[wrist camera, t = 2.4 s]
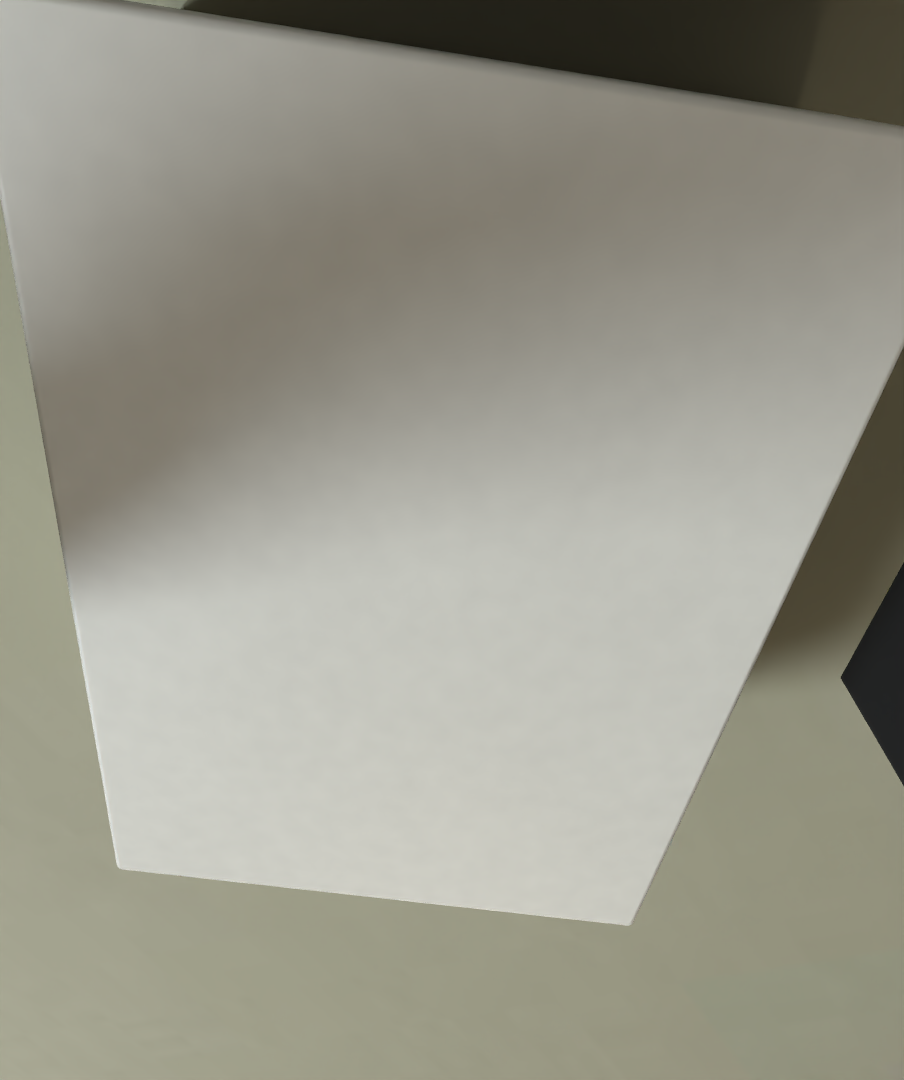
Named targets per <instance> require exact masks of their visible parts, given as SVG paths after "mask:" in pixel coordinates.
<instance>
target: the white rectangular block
mask: <svg viewBox="0 0 904 1080" xmlns="http://www.w3.org/2000/svg"><path fill="white" fill-rule="evenodd" d="M0 197H1V202H2V208H3V214H4V220H5V225H6V231H7V237H8V243H9V248H10V254H11V260H12V266H13V271H14V277H15V283H16V288H17V294H18V300H19V306H20V311H21V317H22V323H23V329H24V334H25V340H26V346H27V352H28V357H29V363H30V369H31V374H32V380H33V386H34V392H35V397H36V403H37V409H38V415H39V420H40V426H41V432H42V438H43V443H44V449H45V455H46V460H47V466H48V472H49V478H50V483H51V489H52V495H53V501H54V506H55V512H56V518H57V524H58V529H59V535H60V541H61V546H62V552H63V558H64V564H65V569H66V575H67V581H68V587H69V592H70V598H71V604H72V610H73V615H74V621H75V627H76V632H77V638H78V644H79V650H80V655H81V661H82V667H83V673H84V678H85V684H86V690H87V696H88V701H89V707H90V713H91V718H92V724H93V730H94V736H95V741H96V747H97V753H98V759H99V764H100V770H101V776H102V782H103V787H104V793H105V799H106V804H107V810H108V816H109V822H110V827H111V833H112V839H113V845H114V850H115V856H116V862H117V866H118V867H119V868H120V869H124V870H133V871H142V872H151V873H160V874H169V875H178V876H187V877H196V878H205V879H214V880H223V881H232V882H241V883H250V884H259V885H268V886H277V887H286V888H295V889H304V890H313V891H322V892H331V893H340V894H349V895H358V896H367V897H376V898H385V899H394V900H403V901H412V902H421V903H430V904H439V905H448V906H457V907H466V908H475V909H484V910H493V911H502V912H511V913H520V914H529V915H538V916H547V917H556V918H565V919H574V920H583V921H592V922H601V923H610V924H619V925H631V924H633V922H634V920H635V918H636V915H637V913H638V911H639V909H640V907H641V905H642V903H643V901H644V898H645V896H646V894H647V892H648V890H649V888H650V886H651V883H652V881H653V879H654V877H655V875H656V873H657V871H658V869H659V866H660V864H661V862H662V860H663V858H664V856H665V854H666V852H667V849H668V847H669V845H670V843H671V841H672V839H673V837H674V835H675V832H676V830H677V828H678V826H679V824H680V822H681V820H682V817H683V815H684V813H685V811H686V809H687V807H688V805H689V803H690V800H691V798H692V796H693V794H694V792H695V790H696V788H697V786H698V783H699V781H700V779H701V777H702V775H703V773H704V771H705V769H706V766H707V764H708V762H709V760H710V758H711V756H712V754H713V751H714V749H715V747H716V745H717V743H718V741H719V739H720V737H721V734H722V732H723V730H724V728H725V726H726V724H727V722H728V720H729V717H730V715H731V713H732V711H733V709H734V707H735V705H736V703H737V700H738V698H739V696H740V694H741V692H742V690H743V688H744V685H745V683H746V681H747V679H748V677H749V675H750V673H751V671H752V668H753V666H754V664H755V662H756V660H757V658H758V656H759V654H760V651H761V649H762V647H763V645H764V643H765V641H766V639H767V637H768V634H769V632H770V630H771V628H772V626H773V624H774V622H775V619H776V617H777V615H778V613H779V611H780V609H781V607H782V605H783V602H784V600H785V598H786V596H787V594H788V592H789V590H790V588H791V585H792V583H793V581H794V579H795V577H796V575H797V573H798V570H799V568H800V566H801V564H802V562H803V560H804V558H805V556H806V553H807V551H808V549H809V547H810V545H811V543H812V541H813V539H814V536H815V534H816V532H817V530H818V528H819V526H820V524H821V522H822V519H823V517H824V515H825V513H826V511H827V509H828V507H829V504H830V502H831V500H832V498H833V496H834V494H835V492H836V490H837V487H838V485H839V483H840V481H841V479H842V477H843V475H844V473H845V470H846V468H847V466H848V464H849V462H850V460H851V458H852V456H853V453H854V451H855V449H856V447H857V445H858V443H859V441H860V438H861V436H862V434H863V432H864V430H865V428H866V426H867V424H868V421H869V419H870V417H871V415H872V413H873V411H874V409H875V407H876V404H877V402H878V400H879V398H880V396H881V394H882V392H883V390H884V387H885V385H886V383H887V381H888V379H889V377H890V375H891V372H892V370H893V368H894V366H895V364H896V362H897V360H898V358H899V355H900V353H901V351H902V349H903V347H904V126H899V125H893V124H887V123H882V122H876V121H870V120H864V119H858V118H852V117H846V116H840V115H834V114H829V113H823V112H817V111H811V110H805V109H799V108H793V107H787V106H781V105H774V104H768V103H762V102H756V101H750V100H743V99H737V98H731V97H725V96H718V95H712V94H706V93H700V92H693V91H687V90H681V89H675V88H669V87H662V86H656V85H650V84H644V83H637V82H631V81H625V80H619V79H613V78H606V77H600V76H594V75H588V74H581V73H575V72H569V71H563V70H557V69H550V68H544V67H538V66H532V65H525V64H519V63H513V62H507V61H501V60H494V59H488V58H482V57H476V56H469V55H463V54H457V53H451V52H445V51H438V50H432V49H426V48H420V47H413V46H407V45H401V44H395V43H388V42H382V41H376V40H370V39H364V38H357V37H351V36H345V35H339V34H332V33H326V32H320V31H314V30H308V29H301V28H295V27H289V26H283V25H276V24H270V23H264V22H258V21H252V20H245V19H239V18H233V17H227V16H220V15H214V14H208V13H202V12H196V11H189V10H183V9H177V8H170V7H164V6H157V5H151V4H144V3H137V2H131V1H124V0H0Z"/></svg>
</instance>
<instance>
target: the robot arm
mask: <svg viewBox="0 0 904 1080" xmlns="http://www.w3.org/2000/svg"><path fill="white" fill-rule="evenodd" d="M841 679H842V681H843V683H844V684H845V686H846V688H847V689H848V691H849V693H850V695H851V696H852V698H853V700H854V701H855V703H856V705H857V707H858V708H859V710H860V712H861V713H862V715H863V717H864V719H865V720H866V722H867V724H868V725H869V727H870V729H871V731H872V732H873V734H874V736H875V737H876V739H877V741H878V743H879V744H880V746H881V748H882V749H883V751H884V753H885V755H886V756H887V758H888V760H889V761H890V763H891V765H892V767H893V768H894V770H895V772H896V773H897V775H898V777H899V779H900V780H901V782H902V784H903V785H904V563H903V565H902V567H901V568H900V570H899V572H898V574H897V576H896V577H895V579H894V581H893V583H892V585H891V587H890V588H889V590H888V592H887V594H886V596H885V598H884V599H883V601H882V603H881V605H880V607H879V608H878V610H877V612H876V614H875V616H874V618H873V619H872V621H871V623H870V625H869V627H868V629H867V630H866V632H865V634H864V636H863V638H862V639H861V641H860V643H859V645H858V647H857V649H856V650H855V652H854V654H853V656H852V658H851V660H850V661H849V663H848V665H847V667H846V669H845V671H844V672H843V674H842V676H841Z"/></svg>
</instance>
